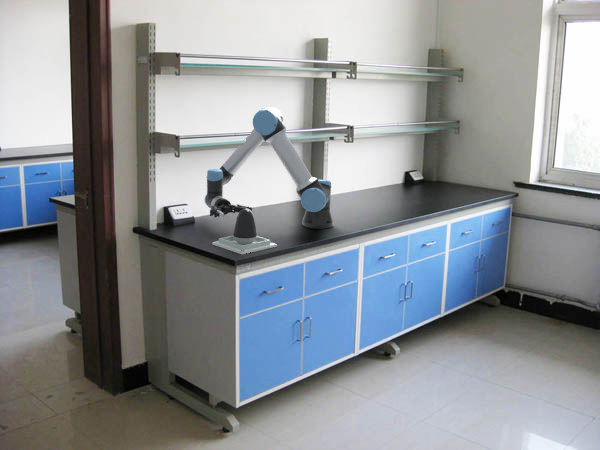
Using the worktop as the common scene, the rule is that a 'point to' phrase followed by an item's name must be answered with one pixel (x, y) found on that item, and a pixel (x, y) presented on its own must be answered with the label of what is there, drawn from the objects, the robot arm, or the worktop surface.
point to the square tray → (233, 246)
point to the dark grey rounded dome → (245, 228)
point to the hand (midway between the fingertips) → (237, 215)
